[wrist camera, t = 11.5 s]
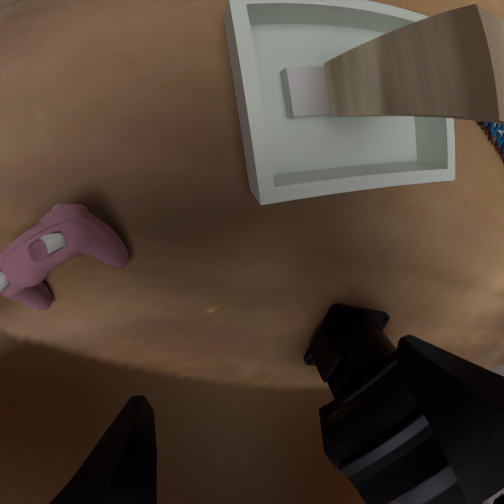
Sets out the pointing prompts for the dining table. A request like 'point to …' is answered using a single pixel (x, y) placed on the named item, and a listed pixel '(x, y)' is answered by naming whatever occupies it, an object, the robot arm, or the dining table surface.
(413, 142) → the box
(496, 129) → the woven mat
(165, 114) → the dining table surface
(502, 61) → the plate
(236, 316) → the dining table surface
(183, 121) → the dining table surface
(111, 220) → the dining table surface
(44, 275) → the video game controller
